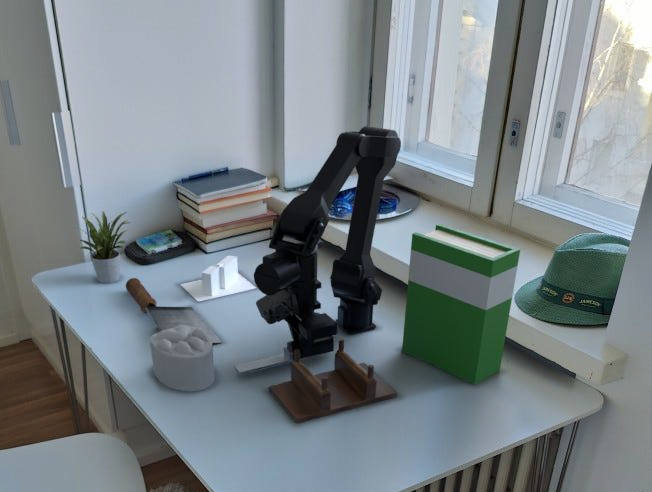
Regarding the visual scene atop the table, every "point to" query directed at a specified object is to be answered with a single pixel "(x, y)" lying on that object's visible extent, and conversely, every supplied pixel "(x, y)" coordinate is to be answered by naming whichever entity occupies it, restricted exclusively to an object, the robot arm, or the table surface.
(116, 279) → the house plant
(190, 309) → the meat cleaver
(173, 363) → the lumpy-topped squat cylinder
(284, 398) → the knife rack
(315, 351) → the kitchen knife
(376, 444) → the table surface
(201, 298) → the napkin holder
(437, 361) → the hardback book
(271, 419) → the table surface
